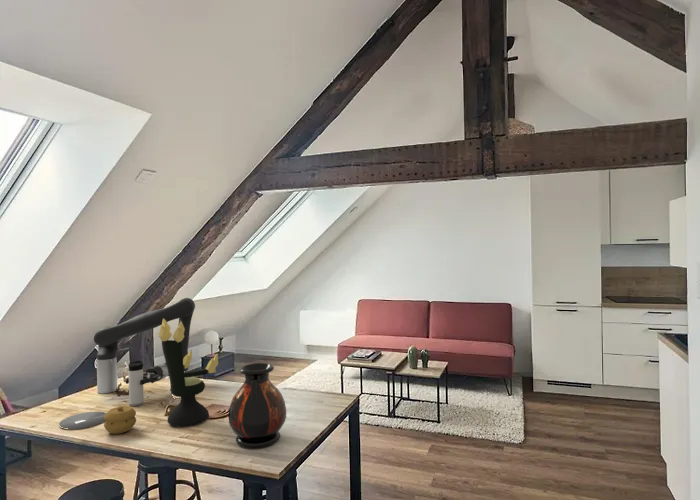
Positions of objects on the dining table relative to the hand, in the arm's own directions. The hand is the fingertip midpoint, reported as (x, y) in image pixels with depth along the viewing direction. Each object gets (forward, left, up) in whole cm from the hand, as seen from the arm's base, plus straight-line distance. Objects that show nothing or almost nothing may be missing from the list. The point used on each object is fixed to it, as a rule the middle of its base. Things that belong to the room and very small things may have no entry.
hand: (133, 382), depth 216 cm
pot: (+31, -9, -11) cm, 34 cm away
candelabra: (+37, +15, -11) cm, 41 cm away
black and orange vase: (+72, +34, -11) cm, 80 cm away
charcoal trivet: (+10, -21, -11) cm, 25 cm away
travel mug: (-1, +1, -11) cm, 11 cm away
